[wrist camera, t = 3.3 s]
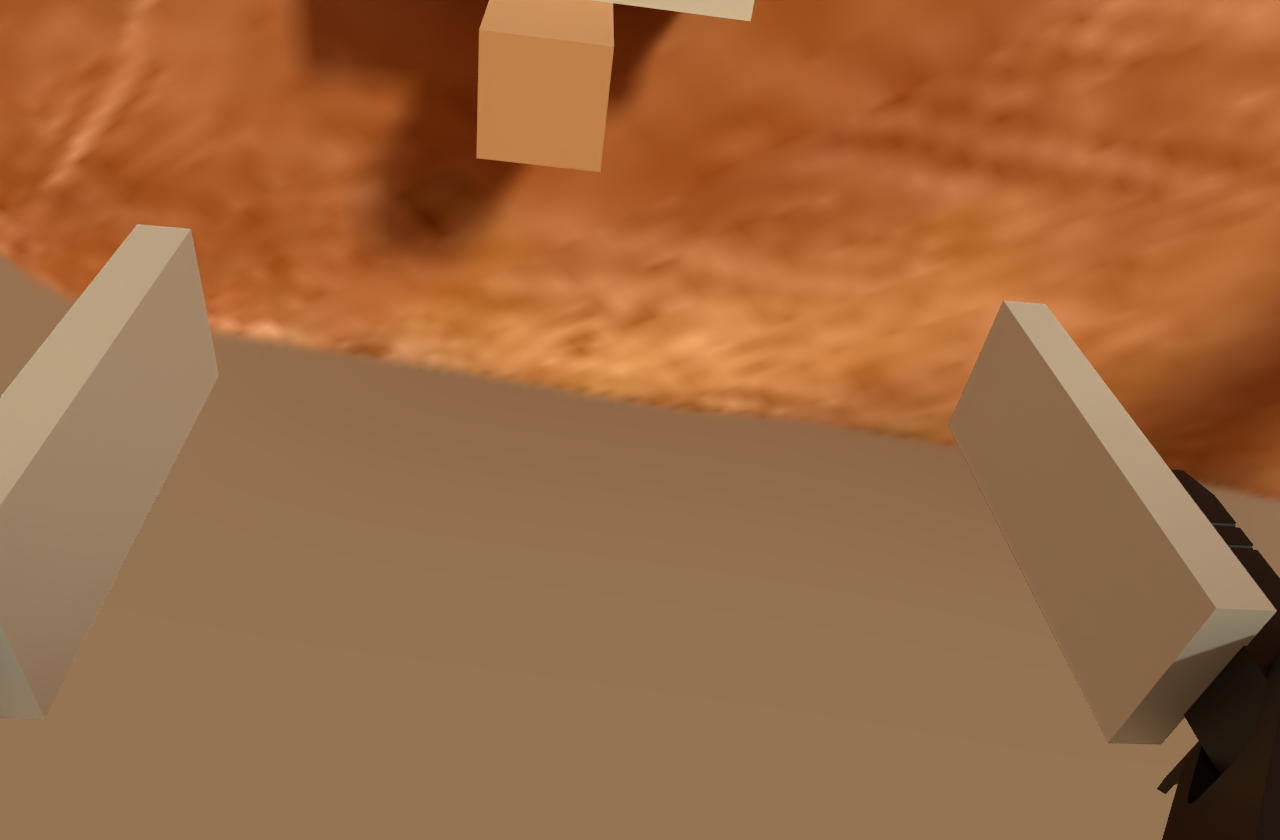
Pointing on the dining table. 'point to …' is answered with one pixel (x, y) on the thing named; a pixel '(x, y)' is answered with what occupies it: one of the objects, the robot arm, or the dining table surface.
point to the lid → (556, 76)
